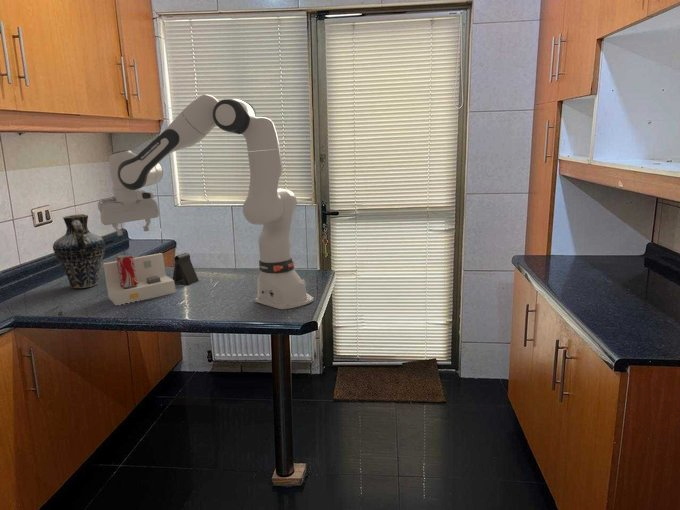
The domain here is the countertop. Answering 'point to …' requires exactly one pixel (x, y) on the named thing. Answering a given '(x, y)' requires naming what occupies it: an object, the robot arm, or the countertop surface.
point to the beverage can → (127, 271)
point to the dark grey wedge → (184, 270)
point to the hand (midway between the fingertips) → (133, 233)
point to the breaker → (153, 279)
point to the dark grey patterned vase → (80, 252)
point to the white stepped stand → (139, 280)
